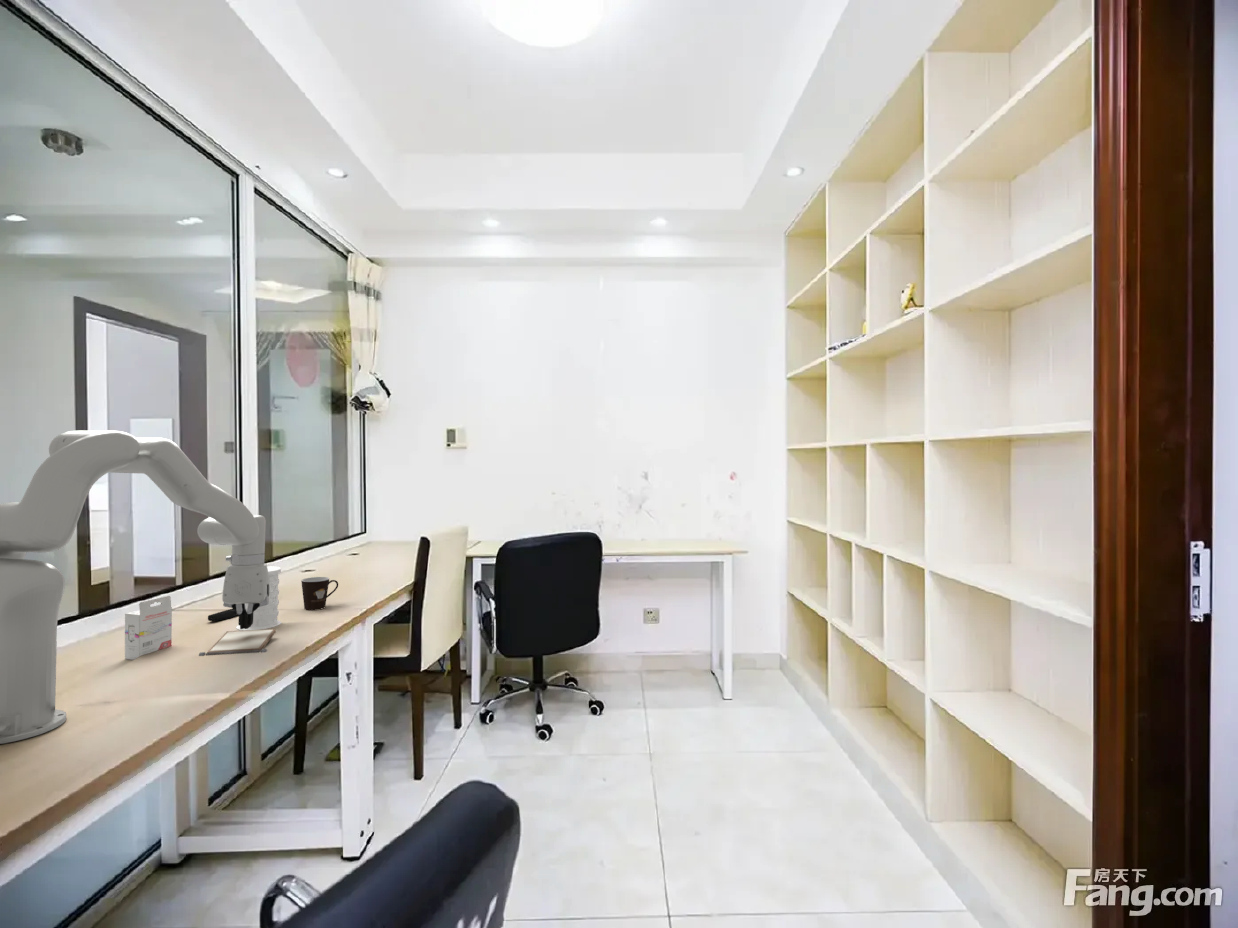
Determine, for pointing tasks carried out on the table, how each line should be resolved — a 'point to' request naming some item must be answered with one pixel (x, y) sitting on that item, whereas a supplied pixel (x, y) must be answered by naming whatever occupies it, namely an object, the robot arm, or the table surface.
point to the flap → (242, 642)
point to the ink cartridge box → (148, 628)
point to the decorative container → (267, 614)
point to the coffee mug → (316, 592)
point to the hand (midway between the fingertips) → (245, 627)
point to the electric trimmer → (222, 615)
